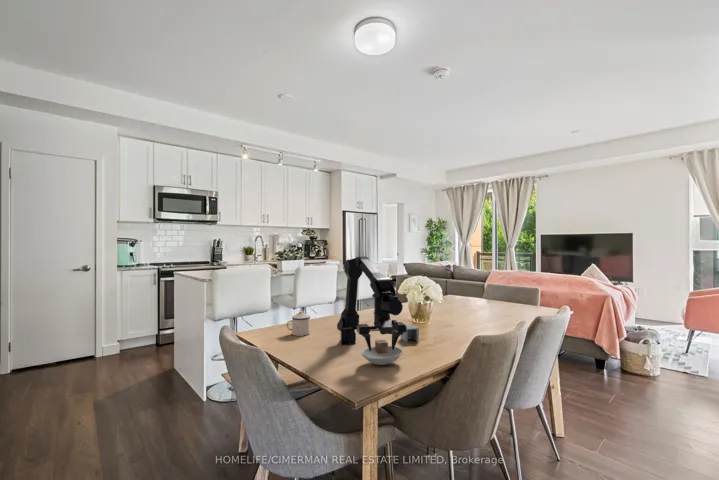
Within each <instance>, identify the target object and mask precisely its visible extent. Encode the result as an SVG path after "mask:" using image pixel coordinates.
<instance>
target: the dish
mask: <svg viewBox="0 0 719 480" xmlns="http://www.w3.org/2000/svg"><path fill="white" fill-rule="evenodd" d="M404 352H405V351H404V350H403V348H401V347H398V346H395V348H394V350H392V345H388V353H382V354H378V353H377V352H376V351H375V346H371V351H369V348H368V347H367V348H364V349H363V350H361V352H360V354H361V356H362V357H364V359H366V360H367V361H368V362H370V363H371V364H375V365H377V366H378V365H380V366H385V365H390V364H392V363H394V362H395V361H397V360H398V359H400V357H401V356H402V355H403V354H404Z"/></svg>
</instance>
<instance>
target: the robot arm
mask: <svg viewBox="0 0 719 480" xmlns="http://www.w3.org/2000/svg"><path fill="white" fill-rule="evenodd" d="M343 268H344V274H345V275H346V278H347V281H346V292H345V306H344V309H343V310H342V312H341V314H340V318H339V320H338V321H337V323H336V328H337V329H336V330H338V331H340V333H339V334H340V339H339V342H340V345H341V346H342V345H343V346H345V345H356V342H357V341H356V340H357V335H356V334H357V333H358V335H360V336H361V337H363V338H364V340H365V343H366V346H367V348H369V351H371V347H372V344H371V343H372V342H371V334H370V333H371V332H378V331H379V334H380V335H391V346H392V350H394V348H395V347H396V345H397V342H398V339H399V338H400V337H401V335H403V333H404V332H407V327H406V325H407V324H405V323H403V322H402V321H398V319H391V315H392V316H398V315H399V316H400V314H401V313H402V311H403V307H404V305H403V304H402V303H403V302H402V301H401V300H399V296H397V290H396V289H395V286H394V284H393V282H392V279H391V278H390V277H389V276H387V275H386V274H383V273H381V272H380V271H379V270H378V269H377V268H376V267H375V266H374V264H373V263H372V262H371V260H370V258H369V256H366V255H365V256H364V255H363V256H355V258H352V259H350V258H349V259H346V260H345V261H344V263H343ZM363 273H364V275H365V276H366V277H367V278H368V280H369V282H370V283H369V284H370V285H369V287H370V288H371V290H372V292H373V293H372V295H371V297H372V298H374V303H373V304H374V305H373V306H374V307H373V308H374V309H373V315H374V316H373V317H374V319H373V320H374V321H373V325H370V326H369V324H367V323H360V314H359V313H358V312H357V310H356V308H357V297H358V286H359V279H360V278H361V276H362V275H363Z"/></svg>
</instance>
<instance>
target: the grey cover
mask: <svg viewBox="0 0 719 480" xmlns="http://www.w3.org/2000/svg"><path fill="white" fill-rule="evenodd" d="M405 325H406V327H407V332H404V333H403V335H400V339H401V340H402V341H403V343H406V344H407V343H408V341H409V340H410V339H411V340H413V341H415V342H416V343H419V342H420V336H419V335H420V330H419V329H420V328H419V327H418V326H417V325H415V324H405Z"/></svg>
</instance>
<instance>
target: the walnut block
mask: <svg viewBox="0 0 719 480" xmlns="http://www.w3.org/2000/svg"><path fill="white" fill-rule="evenodd" d="M374 345H375V351H376V352H377V353H378V354H382V353H388V346H389V342H388V341H387V340H386V339H375V341H374Z"/></svg>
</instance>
